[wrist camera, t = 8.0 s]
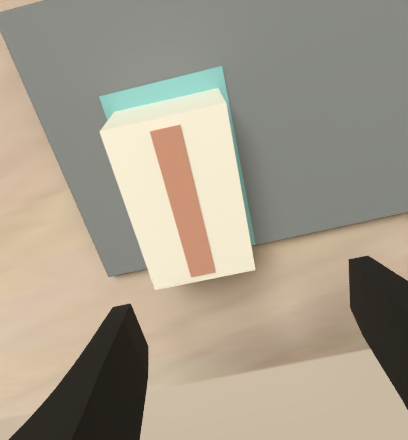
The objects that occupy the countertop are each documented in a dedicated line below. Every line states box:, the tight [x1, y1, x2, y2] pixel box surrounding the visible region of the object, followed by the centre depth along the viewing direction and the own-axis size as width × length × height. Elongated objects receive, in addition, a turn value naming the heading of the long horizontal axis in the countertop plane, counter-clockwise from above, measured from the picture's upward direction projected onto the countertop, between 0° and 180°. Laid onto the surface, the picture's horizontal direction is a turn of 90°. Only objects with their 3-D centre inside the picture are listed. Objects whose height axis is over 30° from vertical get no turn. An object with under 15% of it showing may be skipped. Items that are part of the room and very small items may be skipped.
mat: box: [0, 0, 408, 277], centre depth 18 cm, size 20×14×1 cm
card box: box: [100, 88, 255, 290], centre depth 18 cm, size 8×5×4 cm, turn 12°
